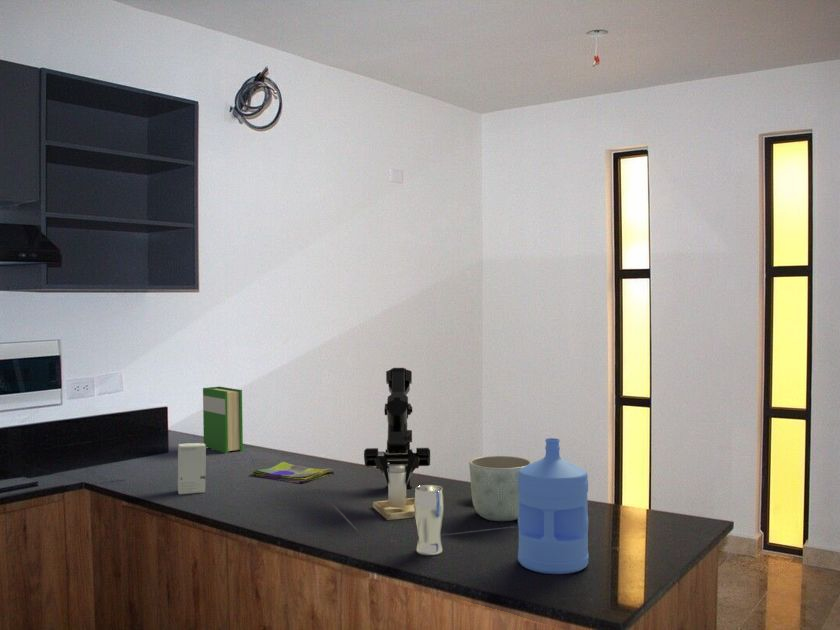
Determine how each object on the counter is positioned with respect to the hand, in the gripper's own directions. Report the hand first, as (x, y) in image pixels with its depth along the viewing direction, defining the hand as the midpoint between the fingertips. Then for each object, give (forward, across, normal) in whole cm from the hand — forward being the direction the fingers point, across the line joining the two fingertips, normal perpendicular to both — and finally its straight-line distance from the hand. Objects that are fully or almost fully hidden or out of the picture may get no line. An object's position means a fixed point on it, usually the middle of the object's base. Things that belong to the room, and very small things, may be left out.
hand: (397, 482), depth 223 cm
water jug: (+36, +36, -24) cm, 57 cm away
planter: (+10, +28, +2) cm, 30 cm away
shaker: (+4, 0, +6) cm, 7 cm away
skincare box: (-13, -64, +25) cm, 71 cm away
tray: (+6, +2, +6) cm, 9 cm away
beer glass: (+30, +8, -18) cm, 35 cm away
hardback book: (-62, -71, +74) cm, 120 cm away
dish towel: (-28, -36, +42) cm, 62 cm away
